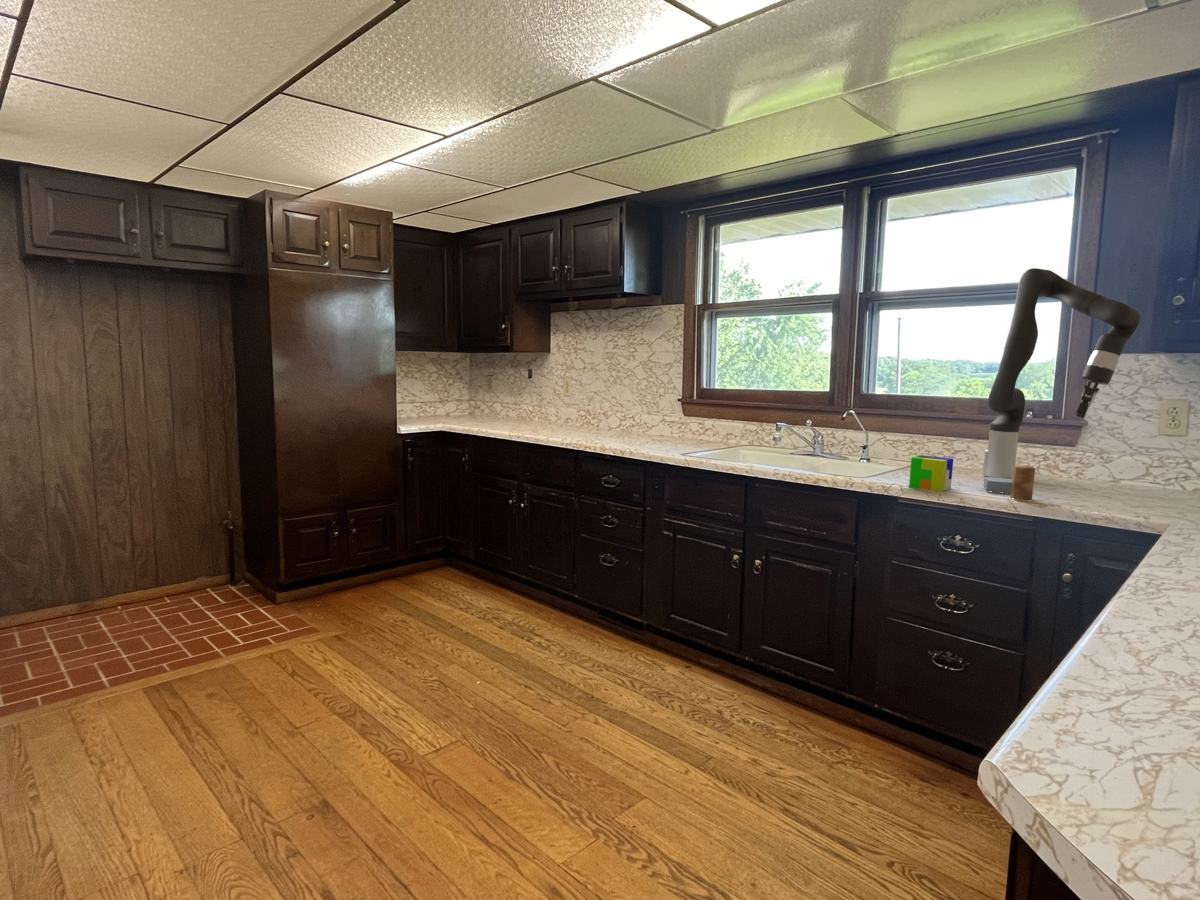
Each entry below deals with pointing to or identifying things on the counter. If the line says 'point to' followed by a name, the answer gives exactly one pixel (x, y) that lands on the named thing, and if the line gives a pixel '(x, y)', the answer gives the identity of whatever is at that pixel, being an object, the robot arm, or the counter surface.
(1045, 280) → the robot arm
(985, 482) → the slate plinth
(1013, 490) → the walnut block
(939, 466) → the puzzle toy
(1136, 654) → the counter surface
